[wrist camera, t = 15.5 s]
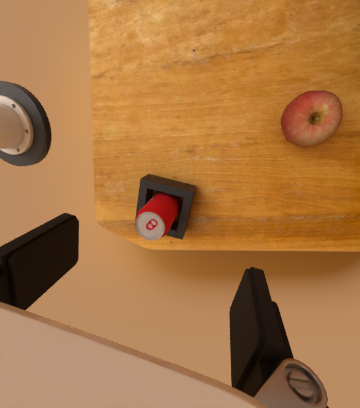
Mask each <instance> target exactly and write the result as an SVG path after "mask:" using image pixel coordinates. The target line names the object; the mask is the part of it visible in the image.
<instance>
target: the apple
mask: <svg viewBox="0 0 360 408" xmlns="http://www.w3.org/2000/svg"><path fill="white" fill-rule="evenodd" d="M342 115H343V114H342V105H341V102H340V100H339V98H338V97H337V96H336V95H335V94H333V93H331V92H328V91H309V92H305V93H303V94H301V95H299V96H298V97H297V98H295V99H294V100H293V101H292V102H291V103H290V104H289V105H288V106H287V107H286V109H285V110H284V113H283V115H282V118H281V126H282V130H283V133H284V135H285V137H286V139H287V140H288V141H289V142H291V143H293V144H295V145H297V146H301V147H310V146H314V145H317V144H319V143H322V142H323V141H325V140H326V139H328V138H329V137H330V136H331V135H332V134H333V133H334V132H335V131H336V130H337V128H338V126H339V125H340V122H341V120H342Z"/></svg>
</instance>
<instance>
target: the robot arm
mask: <svg viewBox="0 0 360 408" xmlns="http://www.w3.org/2000/svg"><path fill="white" fill-rule="evenodd" d="M33 136H34V135H33V126H32V123H31V120H30V118H29V116H28V114H27V112H26V111H25V109H24V108H23V107H22V106H21V105H20V104H19V103H18V102H17V101H15V100H14V99H12V98H10V97H7V96H1V95H0V150H2V151H3V152H5V153H8V154H13V155H15V154H22V153H24V152H26V151H27V150H28V149H29V148H30V147H31V145H32V142H33ZM78 244H79V221H78V219H77V218H76V216H74V215H71V214H67V213H64V214H62V215H60V216H58V217H56V218H54V219H52V220H50V221H48V222H46V223H44V224H43V225H41V226H39V227H37V228H35V229H33V230H31V231H29V232H27V233H26V234H24V235H22V236H20V237H18V238H16V239H14V240H13V241H11V242H8V243H7V244H5V245H3V246H1V247H0V408H329V407H328V406H327V401H328V398H327V393H326V390H325V388H324V386H323V384H322V382H321V381H320V379H319V378H318V376H317V375H316V374H315V373H314V372H313V371H312V370H311V369H310V368H309V367H308V366H306V365H305V364H304V363H302V362H300V361H298V360H296V359H294V358H293V354H292V352H291V348H290V345H289V341H288V338H287V335H286V332H285V328H284V325H283V322H282V318H281V315H280V312H279V308H278V305H277V304H276V303H275V302H273V301H272V300H271V296H270V293H269V289H268V285H267V282H266V278H265V275H264V271H263V270H261V269H257V268H254V267H251V268H250V269H246V270H245V272H244V275H243V277H242V280H241V282H240V285H239V287H238V290H237V292H236V295H235V297H234V300H233V302H232V305H231V308H230V347H231V381H232V387H231V386H229V385H226V384H224V383H222V382H220V381H217V380H215V379H212V378H210V377H207V376H204V375H202V374H199V373H197V372H194V371H191V370H189V369H186V368H184V367H181V366H178V365H176V364H173V363H170V362H167V361H164V360H162V359H159V358H156V357H154V356H151V355H148V354H146V353H143V352H140V351H137V350H134V349H132V348H129V347H126V346H123V345H120V344H118V343H115V342H112V341H110V340H107V339H104V338H101V337H99V336H96V335H93V334H90V333H87V332H85V331H81V330H79V329H76V328H73V327H70V326H68V325H65V324H62V323H59V322H56V321H54V320H51V319H48V318H45V317H42V316H39V315H36V314H33V313H31V312H28V311H25V310H26V309H27V308H28V307H30V306H31V305H32V304H33V303H34V302H35V301H36V300H37V299H38V298H39V297H41V296H42V295H43V294H44V293H45V292H46V291H47V290H48V289H49V288H50V287H51V286H53V285H54V284H55V283H56V282H57V281H58V280H59V279H60V278H61V277H62V276H63V275H64V274H66V273H67V272H68V271H69V270H70V269H71V268H72V267H73V266H74V265H75V264H76V263H77V261H78Z"/></svg>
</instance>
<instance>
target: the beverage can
mask: <svg viewBox="0 0 360 408" xmlns="http://www.w3.org/2000/svg"><path fill="white" fill-rule="evenodd" d="M180 207H181V203H180V199H179V197H178V196H175V195H171V194H167V193H163V192H158V193H157V194H156V195H155V196H154V197H153V198H152V199H151V200H150V201H149V202H148V203H147V204H146V205H145V206H143V207H142V208H141V209H140V210H139V212H138V213H137V216H136V221H135V228H136V231H137V232H138V234H139V235H140V236H141V237H143V238H144V239H147V240H157V239H159V238H161V237H163V236H165V235H166V234H167V233H168V231H169V229H170V227H171V225H172V223H173V222H174V220H175V218H176V216H177V214H178V212H179V210H180Z"/></svg>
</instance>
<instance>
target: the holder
mask: <svg viewBox="0 0 360 408" xmlns="http://www.w3.org/2000/svg"><path fill="white" fill-rule="evenodd" d="M196 187H197V186H194V185H190V184H186V183H182V182H178V181H174V180H170V179H166V178H162V177H158V176H154V175H150V174H148V175H146V176H145V177H143V178H141V181H140V188H139V196H138V204H137V212H136V216H137V213H138V212H139V210H140V209H141V208H142V207H143V206H145V205H146V204H147V203H148V202H149V201H150V200H151V199H152V195H153V190H156V191H160V192H163V193H167V194H171V195H175V196H179V197H183V198H184V200H183V204H182V209H181V213H180V218H179V221H175V220H174V222H173V223H172V225H171V227H170V229H169V231H168V233H167V234H166V235H168V236H171V237H175V238H178V239H183V237H184V234H185V231H186V228H187V224H188V220H189V216H190V212H191V208H192V203H193V199H194V195H195V191H196ZM135 221H136V219H135Z"/></svg>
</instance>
